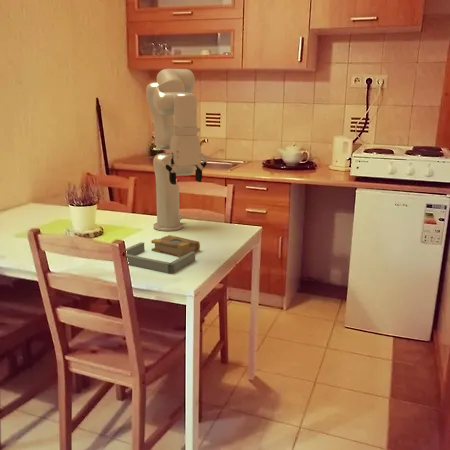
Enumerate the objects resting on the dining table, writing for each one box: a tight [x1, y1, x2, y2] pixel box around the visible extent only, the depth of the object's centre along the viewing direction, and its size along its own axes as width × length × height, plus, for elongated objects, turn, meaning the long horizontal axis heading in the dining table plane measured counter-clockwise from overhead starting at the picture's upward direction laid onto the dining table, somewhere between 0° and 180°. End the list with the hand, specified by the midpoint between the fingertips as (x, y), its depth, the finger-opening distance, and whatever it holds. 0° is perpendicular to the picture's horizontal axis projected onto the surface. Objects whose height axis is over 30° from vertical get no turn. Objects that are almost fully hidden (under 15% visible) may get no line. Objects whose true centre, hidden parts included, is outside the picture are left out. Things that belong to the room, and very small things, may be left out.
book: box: [150, 234, 201, 258], centre depth 177 cm, size 15×11×5 cm
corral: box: [125, 241, 196, 275], centre depth 166 cm, size 14×23×3 cm, turn 63°
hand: (186, 182), depth 166 cm, fingers open, 9 cm apart
